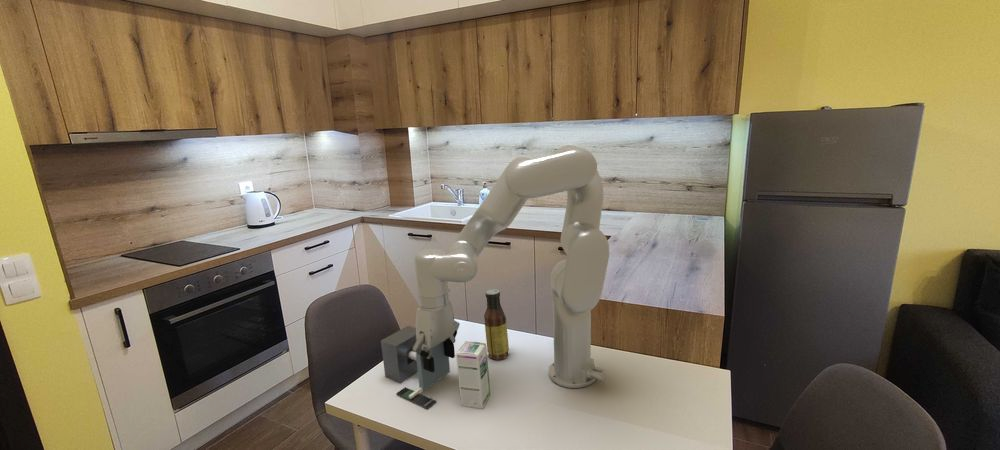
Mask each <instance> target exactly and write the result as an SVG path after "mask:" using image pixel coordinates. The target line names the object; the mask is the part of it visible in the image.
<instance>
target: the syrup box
mask: <svg viewBox="0 0 1000 450" xmlns="http://www.w3.org/2000/svg"><path fill="white" fill-rule="evenodd" d="M455 357H456V364H457V365H456V367H457V375H458V376H457V377H458V385H459V387H458V388H459V395H460V404H461V406H463V407H467V408H474V409H481V410H482V409H484V407H485V405H486V404H487V401H488V400H489V398H490V396H491V389H490V388H491V387H490V376H489V363H488V351H487V343H485V342H481V341H479V342H478V341H466V340H465V341H464V342H463V345H462V346H460V348H459V349H458V351H457V352H456V353H455Z"/></svg>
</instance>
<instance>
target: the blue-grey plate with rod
mask: <svg viewBox="0 0 1000 450" xmlns="http://www.w3.org/2000/svg"><path fill="white" fill-rule="evenodd" d="M444 341H445V340H444ZM444 341H443V342H441V343H439V344H438V345H436V346H434V348H433V352H432V356H431V357H433V358H434V368H435V371H434V372H433V373H432V372H430V371H427V370H425V369H424V364H423V357H422V356H420V355H418V354H417V353H416V352H414V351H411V350H408V351H406V353H407V357H408V358H410V359H413V360H416V361H417V370H418V372H417V378H418V388H417V389H416V390H413V391H414V392H413V393H412V394H410V395H409V398H411V399H412V398H413V397H414V396H416V395H417V394H418V393H419V394H421V392H424V391H426V390H427V389H429V388H430V387H432V385H434V384H435V383H437V382H438V381H439V380H441V379H442V378H444V376H446V375H448V374H449V373H451V370H450V368H451V367H450V366H451V365H450V357H448V356H445V355H444V344H443V343H444ZM428 349H429V348H428V347H427V348H426V352H427V353H428Z"/></svg>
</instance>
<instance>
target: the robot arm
mask: <svg viewBox="0 0 1000 450" xmlns="http://www.w3.org/2000/svg"><path fill="white" fill-rule="evenodd" d="M595 157H596V156H594V155H593V153H592V152H591V151H589V150H588V149H586V148H582V147H579V146H576V145H563V146H560V147H558V148H557V149H556V150H555V151H554V153H553V154H550V155H546V156H542V157H536V158H529V157H526V156H521V157H516V158H514V159H512V160H511V161H510V162H509V163H508V164H507V166H506V167H505V168H504V170H503V171H502V173H501V175H500V176H499V178H498V179H497V180H496V182H495V184H494V185H493V186H492V188H491V189H490V191H489V192H488V194H487V195H486V197H485V198H484V200H483V201H482V203H481V204H480V205H479V207H478V208H477V209H476V211H475V212H474V213H473V215H472V216H471V217H470V219H469V220H468V221H467V222H466V224H465V225H464V227H463V228H462V229H461V230H460V232H459V233H458V235H457V237H456V238H455V240H454V241H453V243H452V244H451V246H450V248H449V250H448V253H447V254H446V253H445V252H444V250H443V249H438V248H428V249H427V248H426V249H423V250H420V251H419V252H417V253H416V254H415V257H414V264H415V266H414V267H415V268H414V269H415V276H416V285H417V287H416V288H417V297H418V306H417V307H416V312H415V313H416V314H415V328H416V340H417V341H416V343H415V345H414V347H413V351H414V352H416V353H417V354H418V355H420V356H422V357H423V364H424V369H425V370H427V371H430V372H432V373H433V372H434V371H435V368H434V358H433V357H431V356H432V352H433V348H434V346H436V345H438V344H439V343H441V342H443V341H444V340H445V341H444V343H443V344H444V355H445V356H448V357H449V359H455V357H456V353H455V352H456V351H455V343H456V337H457V335H458V331H459V328H460V322H459V321H457V320H455V316H454V315H455V314H454V310H453V306H452V302H451V300H450V291H451V290H450V288H449V282H452V283H468V282H469V281H472V280H473V279H474V278H475V277H476V276H477V274H478V271H479V270H478V269H479V263H478V258H479V257H480V254H481V253H482V251H483V250H484V248H485V247H486V246H487V245H488V244H489V242H490V240H491V239H492V238H493V237H494V236H495V235H497V233H499V232H501V231H504V230H505V229H507V228H508V227H510V225H512V223H513V222H514V221H515V218H516V217H517V216H518V214H519V213H520V211H521V210H522V208H524V206H525V204H526V202H527V201H528V200H529V199H537V198H542V197H547V196H551V195H556V194H559V193H563V192H567V199H566V207H565V213H564V214H565V215H564V220H563V224H562V225H563V226H562V229H561V235H560V245H561V248H562V250H563V251H564V252H565V254H566V258H565V259H562V260H560V261H559V262H557V263H556V264H555V265H554V267H553V269H552V271H551V274H550V288H551V289H550V290H551V300H552V301H551V302H552V318H553V319H552V327H553V361H554V362H553V363H551V364H550V366H548V367H549V368H548V376H549V379H550V380H551V381H552V382H553V383H555V384H556V385H559V386H560V387H565V388H568V389H569V388H570V389H579V388H585V387H587V386H590V385H591V384H593V383H594V382H595V381H596V380H597V381H601V382H605V379H606V374H605V369H604V368H603V367H599V366H596V365H595V359H594V358H591V357H592V356H591V354H592V353H591V350H592V345H591V344H592V343H591V341H592V340H591V339H592V338H591V337H592V336H591V333H592V332H591V331H592V330H591V328H592V327H591V325H592V324H591V321H592V320H591V319H592V316H591V315H592V313H591V311H592V310H593V309H594V308H595V307H596V306H597V305H598V303H599V301H600V298H601V295H602V293H603V289H604V284H605V279H606V276H607V275H606V274H607V268H608V264H609V260H610V245H609V241H608V238H607V236H606V235H605V234H604V232H602V231H601V230H600V224H601V218H602V209H603V203H604V186H603V183H602V179H601V176H600V173H599V170H598V163H597V159H596V158H595ZM421 347H422V349H421ZM427 347H428V348H429V349H428V353H427V352H426V348H427Z"/></svg>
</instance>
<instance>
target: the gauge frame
mask: <svg viewBox="0 0 1000 450" xmlns="http://www.w3.org/2000/svg"><path fill="white" fill-rule="evenodd" d="M416 341H417V340H416V327H413V326H410V325H407V326H405V327H403V328H401V329H399V330H398V331H396V332H393V333H392V334H391V335H388V336H387V337H385V338H383V339H382V340H380V346H381V354H382V360H383V368H384V370H383V371H384V377H385V378H387V379H389V380H391V381H393V382H395V383H398V384H400V385H401V384H402V383H404V382H406V381H407V380H408V379H409V378H411V377H412V376H414V375H416V374H418V370H417V361H416V360H413V359H410V358H408V357H407V353H406V351H408V350H411V351H413V347H414V345H415V343H416ZM421 349H422V347H421ZM414 391H415V390H413V389H410V388H409V387H405V386H404V387H403V388H402V389H400V390H399V391H397V392H396V396H398V397H400V398H402V399H404V400H406V401H408V402H409V403H410V402H411V403H412V404H415V405H416V406H419V407H421V408H423V409H426V410H429V409H431V408H432V407H434V406H435V405H436V404H437V400H435V399H433V398H430V397H429V396H428V397H427V396H425V395H424V394H421V393H418V394H417V395H416V396H414V397H413V398H412V399H411V398H409V395H410V394H412V393H413V392H414Z"/></svg>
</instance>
